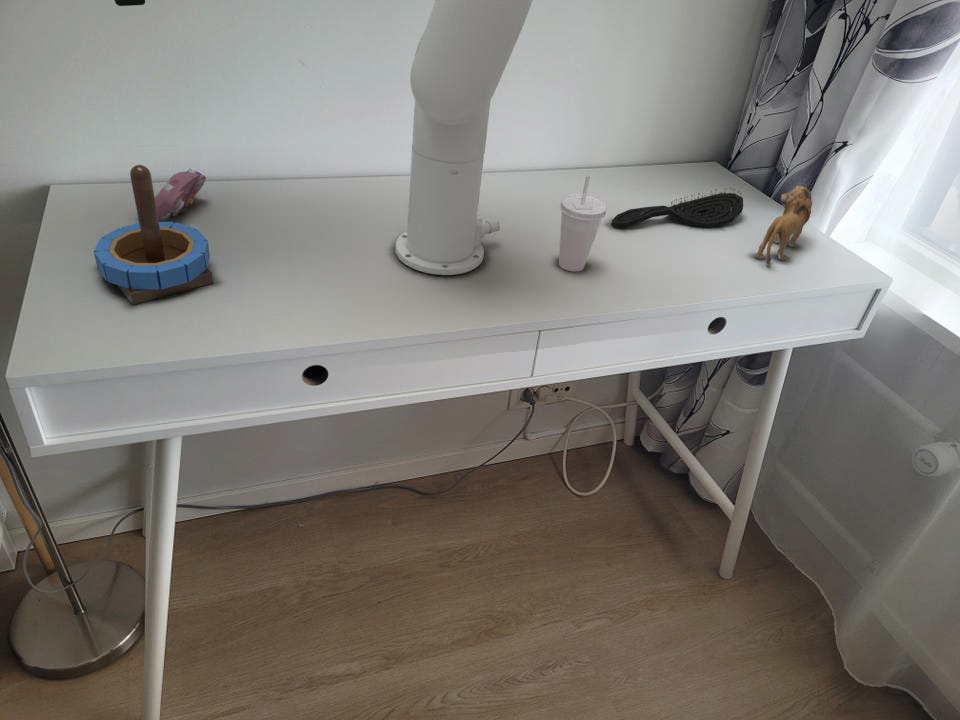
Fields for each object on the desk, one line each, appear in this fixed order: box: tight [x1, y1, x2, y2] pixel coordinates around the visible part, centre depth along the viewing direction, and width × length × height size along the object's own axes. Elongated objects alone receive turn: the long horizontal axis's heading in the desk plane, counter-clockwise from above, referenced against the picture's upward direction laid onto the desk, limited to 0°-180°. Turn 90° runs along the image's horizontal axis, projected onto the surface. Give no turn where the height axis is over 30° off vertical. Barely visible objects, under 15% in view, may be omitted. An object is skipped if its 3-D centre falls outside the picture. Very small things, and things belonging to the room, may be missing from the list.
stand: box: [117, 164, 214, 306], centre depth 90 cm, size 10×10×15 cm
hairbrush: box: [610, 187, 744, 229], centre depth 123 cm, size 8×4×25 cm
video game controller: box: [155, 167, 207, 220], centre depth 107 cm, size 10×5×7 cm, turn 168°
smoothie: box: [558, 174, 607, 272], centre depth 104 cm, size 6×6×14 cm
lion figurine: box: [754, 185, 813, 265], centre depth 117 cm, size 15×5×9 cm, turn 151°
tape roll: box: [93, 221, 211, 290], centre depth 93 cm, size 13×13×2 cm
